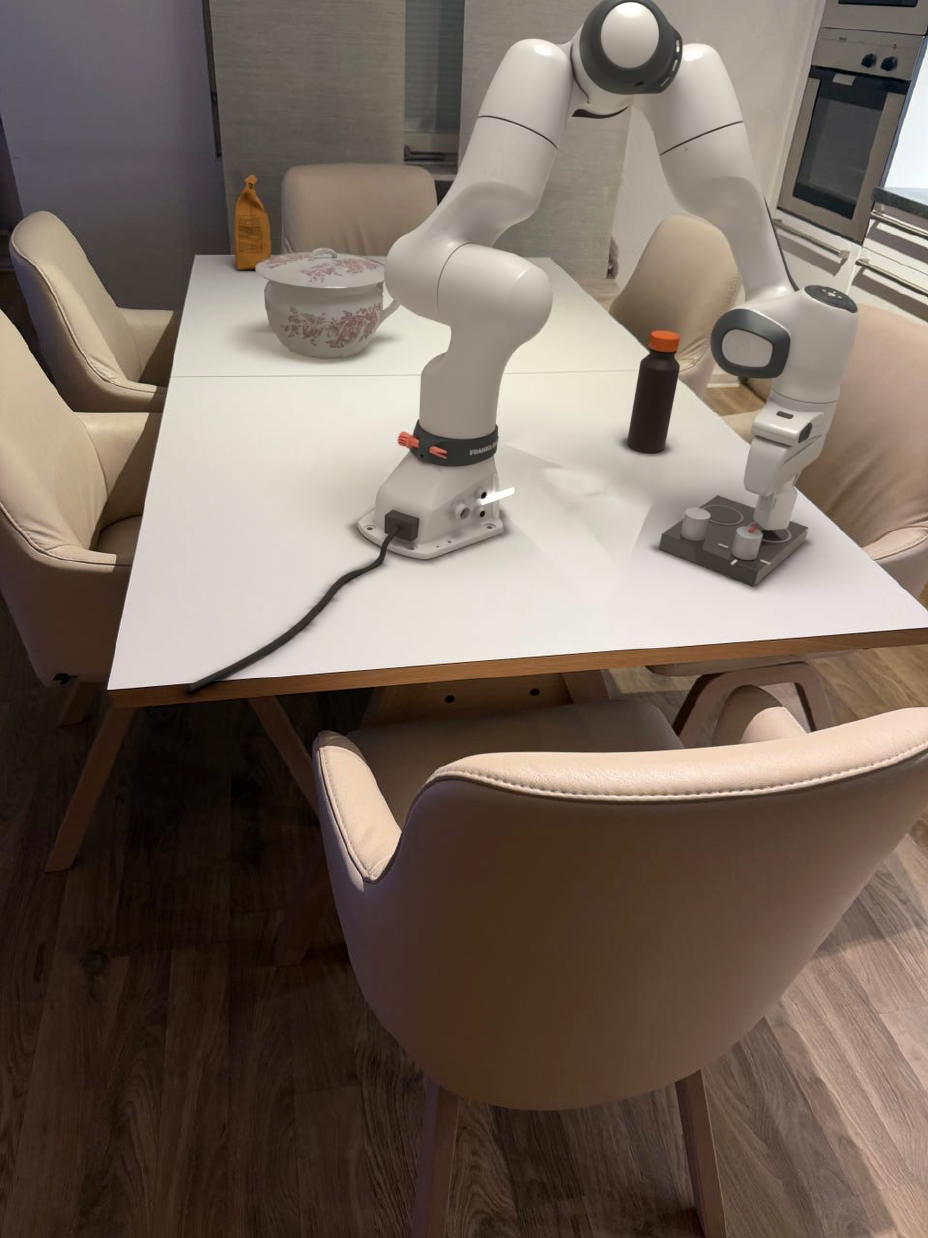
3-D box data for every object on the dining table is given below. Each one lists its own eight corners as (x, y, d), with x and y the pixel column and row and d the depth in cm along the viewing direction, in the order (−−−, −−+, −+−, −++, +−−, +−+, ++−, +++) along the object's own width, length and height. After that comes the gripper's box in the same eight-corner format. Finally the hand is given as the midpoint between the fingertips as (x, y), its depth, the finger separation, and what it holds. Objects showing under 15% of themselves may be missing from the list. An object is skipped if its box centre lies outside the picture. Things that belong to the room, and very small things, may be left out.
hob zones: (758, 566, 132) (764, 544, 130) (668, 532, 139) (673, 510, 137) (798, 532, 141) (804, 511, 139) (712, 501, 148) (717, 480, 146)
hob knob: (750, 563, 132) (756, 539, 130) (726, 554, 134) (732, 530, 132) (761, 554, 135) (767, 530, 133) (738, 545, 136) (744, 521, 134)
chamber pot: (234, 356, 196) (227, 251, 185) (296, 322, 218) (293, 226, 207) (360, 379, 190) (360, 272, 178) (410, 341, 212) (413, 243, 200)
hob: (753, 590, 131) (758, 573, 130) (655, 550, 139) (658, 534, 137) (806, 542, 144) (811, 527, 142) (714, 508, 151) (717, 493, 150)
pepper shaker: (764, 532, 138) (781, 472, 133) (750, 519, 141) (766, 460, 136) (788, 530, 139) (806, 470, 134) (774, 517, 142) (790, 458, 137)
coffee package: (276, 261, 263) (272, 174, 250) (270, 272, 252) (265, 182, 240) (239, 259, 262) (233, 171, 250) (232, 270, 252) (225, 180, 239)
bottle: (638, 435, 175) (657, 325, 164) (671, 446, 172) (693, 335, 160) (619, 445, 170) (637, 333, 159) (652, 456, 167) (673, 343, 156)
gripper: (806, 387, 139) (782, 474, 147) (747, 424, 125) (724, 518, 133) (848, 399, 136) (822, 487, 144) (792, 438, 122) (766, 533, 130)
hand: (774, 502), depth 138 cm, fingers closed on pepper shaker, 5 cm apart
